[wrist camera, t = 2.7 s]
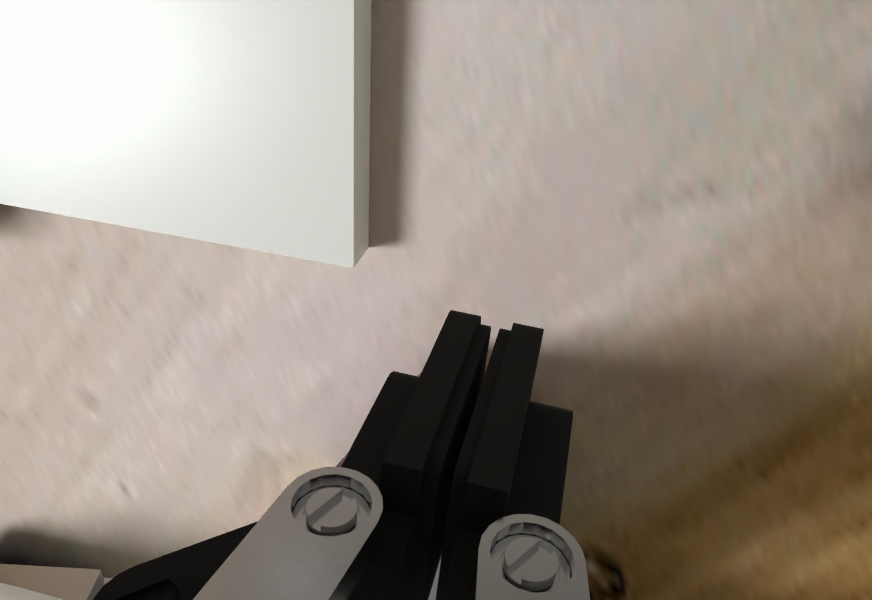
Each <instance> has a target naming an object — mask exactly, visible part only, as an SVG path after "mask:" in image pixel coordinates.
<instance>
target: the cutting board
mask: <svg viewBox="0 0 872 600" xmlns="http://www.w3.org/2000/svg"><path fill="white" fill-rule="evenodd" d="M371 4H372V0H0V204H5V205H10V206H16V207H21V208H27V209H32V210H38V211H43V212H49V213H54V214H60V215H65V216H71V217H76V218H82V219H87V220H93V221H98V222H104V223H109V224H114V225H120V226H125V227H131V228H136V229H142V230H147V231H153V232H158V233H164V234H169V235H175V236H180V237H186V238H191V239H197V240H202V241H208V242H213V243H219V244H224V245H230V246H235V247H241V248H246V249H252V250H257V251H263V252H268V253H274V254H279V255H285V256H290V257H296V258H301V259H307V260H312V261H318V262H323V263H329V264H334V265H340V266H345V267H351V268H354V267H355V265H356V264H357V263H358V261H359V260H360V258H361V257H362V256H363V254H364V253H365V252H366V250H367V249H368V247H369V170H370V87H371Z"/></svg>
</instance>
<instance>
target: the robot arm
mask: <svg viewBox="0 0 872 600" xmlns="http://www.w3.org/2000/svg"><path fill="white" fill-rule="evenodd" d="M543 331H544V329H541V328H536V327H531V326H526V325H521V324H516V323H513V326H512V329H511V331H510V330H505V329H500V330H499V333H498V336H497V339H496V342H495V345H494V348H493V351H492V355H491V358H490V361H489V364H488V367H487V370H486V373H485V376H484V372H485V365H486V359H487V352H488V345H489V339H490V332H491V326H486V325H481V316H477V315H472V314H467V313H463V312H458V311H453V310H451V311H450V312H449V314H448V316H447V318H446V320H445V323H444V325H443V327H442V329H441V331H440V334H439V336H438V338H437V340H436V342H435V345H434V347H433V349H432V351H431V353H430V356H429V358H428V360H427V362H426V364H425V367H424V369H423V371H422V373H421V375H420V377H417V376H413V375H408V374H404V373H399V372H395V371H393V372H391V373H390V375H389V376H388V378H387V380H386V382H385V384H384V386H383V387H382V389H381V391H380V393H379V395H378V397H377V399H376V401H375V403H374V405H373V407H372V408H371V410H370V412H369V414H368V416H367V418H366V420H365V422H364V424H363V426H362V428H361V430H360V431H359V433H358V435H357V437H356V439H355V441H354V443H353V445H352V447H351V449H350V451H349V453H348V454H347V456H346V458H345V460H344V462H343V464H342V466H341V467H324V468H320V469H315V470H311V471H309V472H307V473H305V474H303V475H301V476H299V477H298V478H296V479H295V480H294V481H293V482H292V483H291V484H290V485H288V486H287V488H286V489H285V490H284V491H283V492H282V494H281V495H280V496H279V497H278V498H277V500H276V501H275V502H274V503H273V504H272V506H271V507H270V508H269V509H268V510H267V511H266V513H265V514H264V515H263V516H262V517H261V519H260V520H259V521H258V522H255V523H252V524H250V525H247V526H244V527H241V528H238V529H236V530H233V531H230V532H227V533H225V534H222V535H219V536H216V537H214V538H211V539H208V540H205V541H203V542H200V543H197V544H194V545H192V546H189V547H186V548H183V549H181V550H178V551H175V552H172V553H169V554H167V555H164V556H161V557H158V558H156V559H153V560H150V561H147V562H145V563H142V564H139V565H136V566H134V567H132V568H130V569H128V570H126V571H124V572H122V573H120V574H118V575H116V576H115V577H114V578H104V577H103V574H102V570H101V569H84V568H66V567H48V566H31V565H13V564H0V600H428V599H429V595H430V592H431V589H432V585H433V582H434V579H435V575H436V572H437V569H438V565H439V562H440V558H441V563H440V571H439V578H438V585H437V593H436V600H592V599H591V598H590V594H589V585H588V575H587V566H586V561H585V557H584V554H583V550H582V548H581V547H580V545H579V544H578V542H577V541H576V539H575V538H574V536H573V535H571V534H570V533H569V532H568V531H567V530H566V529H564V528H563V527H562V526H561V525H559V523H560V515H561V507H562V499H563V491H564V483H565V475H566V467H567V459H568V451H569V443H570V435H571V427H572V418H573V411H570V410H566V409H561V408H557V407H552V406H548V405H543V404H539V403H534V402H530V397H531V392H532V387H533V382H534V377H535V372H536V367H537V362H538V357H539V352H540V347H541V341H542V336H543ZM483 379H484V380H483ZM441 555H442V556H441Z"/></svg>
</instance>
